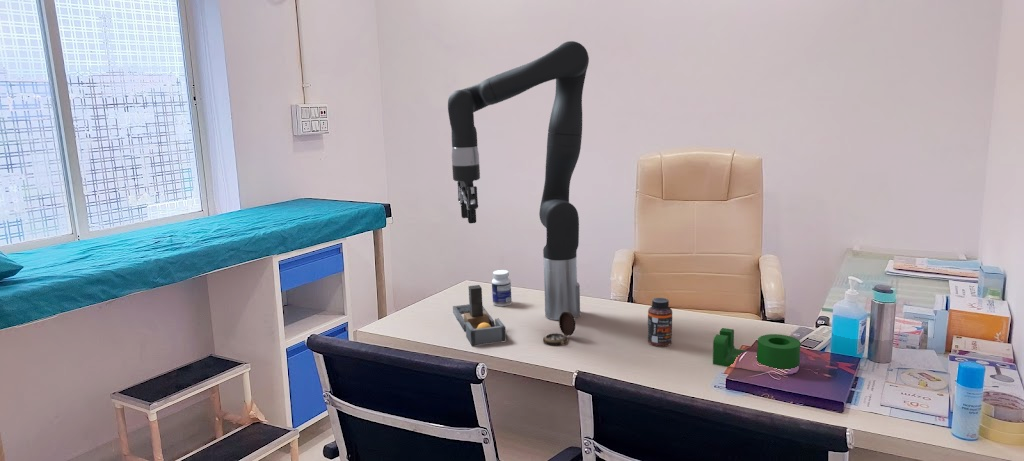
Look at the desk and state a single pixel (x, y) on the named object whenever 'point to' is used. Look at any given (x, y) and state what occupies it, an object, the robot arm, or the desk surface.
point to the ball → (483, 325)
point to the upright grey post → (476, 308)
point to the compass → (566, 327)
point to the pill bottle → (501, 288)
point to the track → (466, 308)
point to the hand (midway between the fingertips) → (468, 220)
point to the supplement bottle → (660, 323)
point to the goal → (486, 334)
